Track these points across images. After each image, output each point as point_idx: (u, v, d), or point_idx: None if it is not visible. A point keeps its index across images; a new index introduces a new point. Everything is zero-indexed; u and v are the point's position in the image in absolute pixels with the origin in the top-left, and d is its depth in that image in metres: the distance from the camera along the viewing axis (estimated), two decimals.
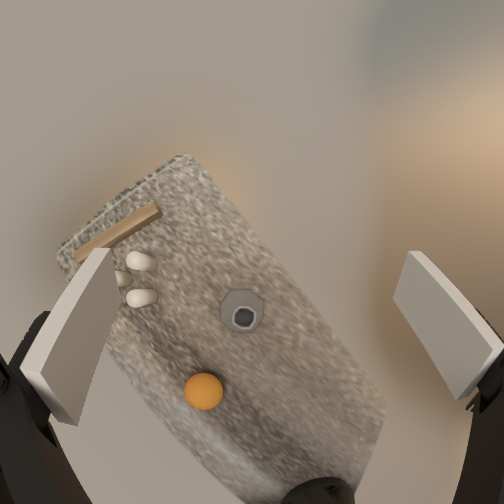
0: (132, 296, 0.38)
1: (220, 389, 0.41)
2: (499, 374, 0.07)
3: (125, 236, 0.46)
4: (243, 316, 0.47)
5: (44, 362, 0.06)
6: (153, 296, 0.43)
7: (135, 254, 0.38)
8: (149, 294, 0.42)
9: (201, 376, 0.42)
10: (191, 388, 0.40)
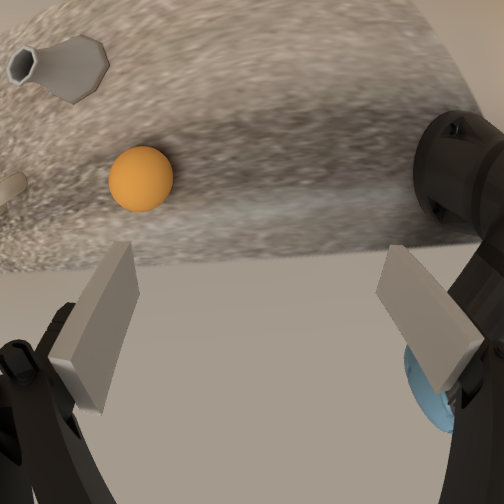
0: None
1: (142, 151, 0.23)
2: (480, 369, 0.07)
3: None
4: None
5: (74, 350, 0.06)
6: (8, 180, 0.23)
7: None
8: None
9: (111, 168, 0.24)
10: (114, 193, 0.23)
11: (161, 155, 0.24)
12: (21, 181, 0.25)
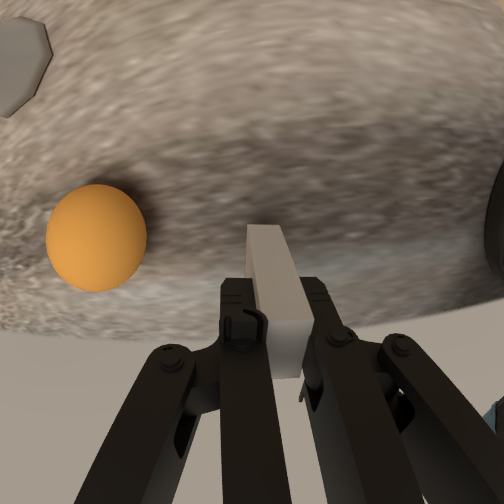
0: None
1: (90, 198, 0.13)
2: (316, 364, 0.08)
3: None
4: None
5: (286, 311, 0.08)
6: None
7: None
8: None
9: (48, 223, 0.13)
10: None
11: (123, 202, 0.14)
12: None
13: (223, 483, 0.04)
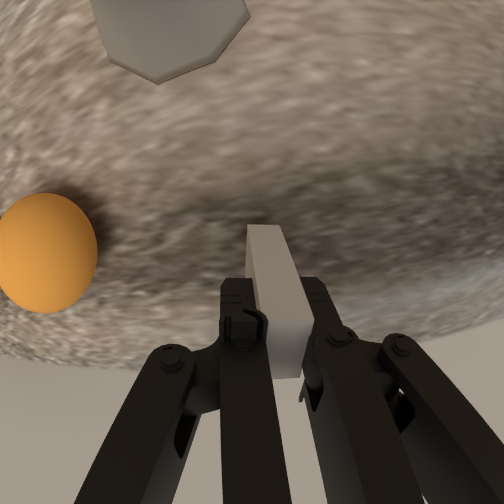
0: None
1: (55, 195, 0.12)
2: (316, 364, 0.08)
3: None
4: None
5: (286, 311, 0.08)
6: None
7: None
8: None
9: (41, 248, 0.10)
10: (78, 279, 0.12)
11: None
12: None
13: (223, 483, 0.04)
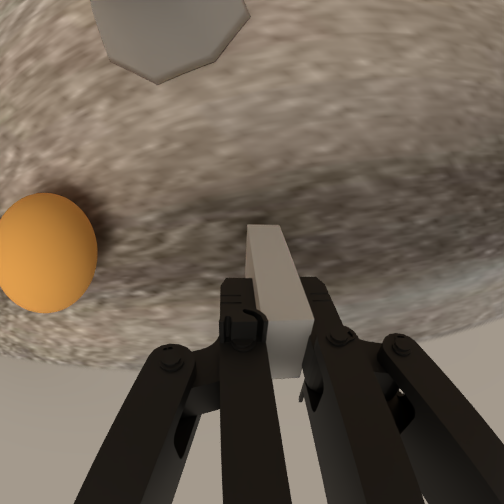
0: None
1: (55, 195, 0.12)
2: (316, 364, 0.08)
3: None
4: None
5: (286, 311, 0.08)
6: None
7: None
8: None
9: (41, 248, 0.10)
10: (78, 280, 0.12)
11: None
12: None
13: (223, 483, 0.04)
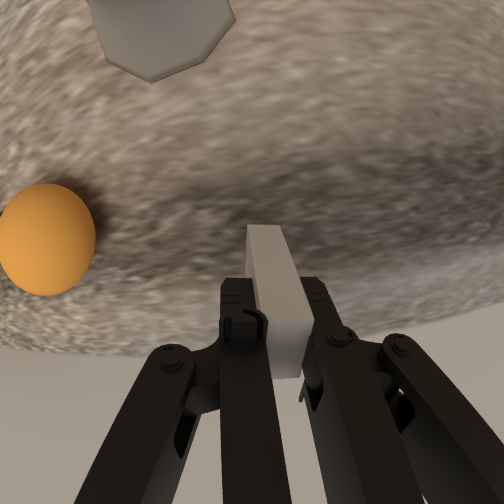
0: None
1: (57, 185, 0.13)
2: (316, 364, 0.08)
3: None
4: None
5: (286, 311, 0.08)
6: None
7: None
8: None
9: (44, 232, 0.11)
10: (78, 262, 0.13)
11: None
12: None
13: (223, 483, 0.04)
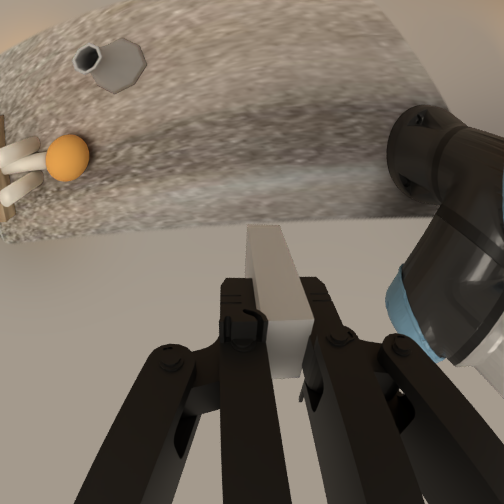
0: None
1: (75, 135, 0.31)
2: (316, 364, 0.08)
3: None
4: None
5: (286, 311, 0.08)
6: (29, 155, 0.31)
7: None
8: None
9: (69, 149, 0.29)
10: (80, 163, 0.30)
11: None
12: (37, 160, 0.31)
13: (223, 483, 0.04)
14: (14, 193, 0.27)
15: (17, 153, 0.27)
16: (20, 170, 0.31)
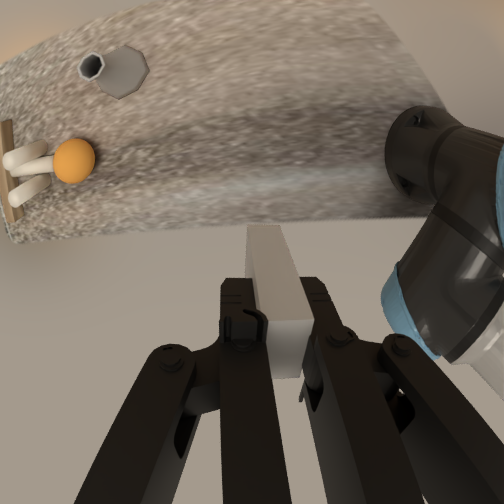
0: None
1: (81, 139, 0.32)
2: (316, 364, 0.08)
3: None
4: None
5: (286, 311, 0.08)
6: (37, 159, 0.33)
7: (5, 158, 0.26)
8: None
9: (76, 152, 0.30)
10: (86, 166, 0.32)
11: None
12: (44, 163, 0.33)
13: (223, 483, 0.04)
14: (22, 194, 0.29)
15: (26, 156, 0.29)
16: (28, 173, 0.33)
